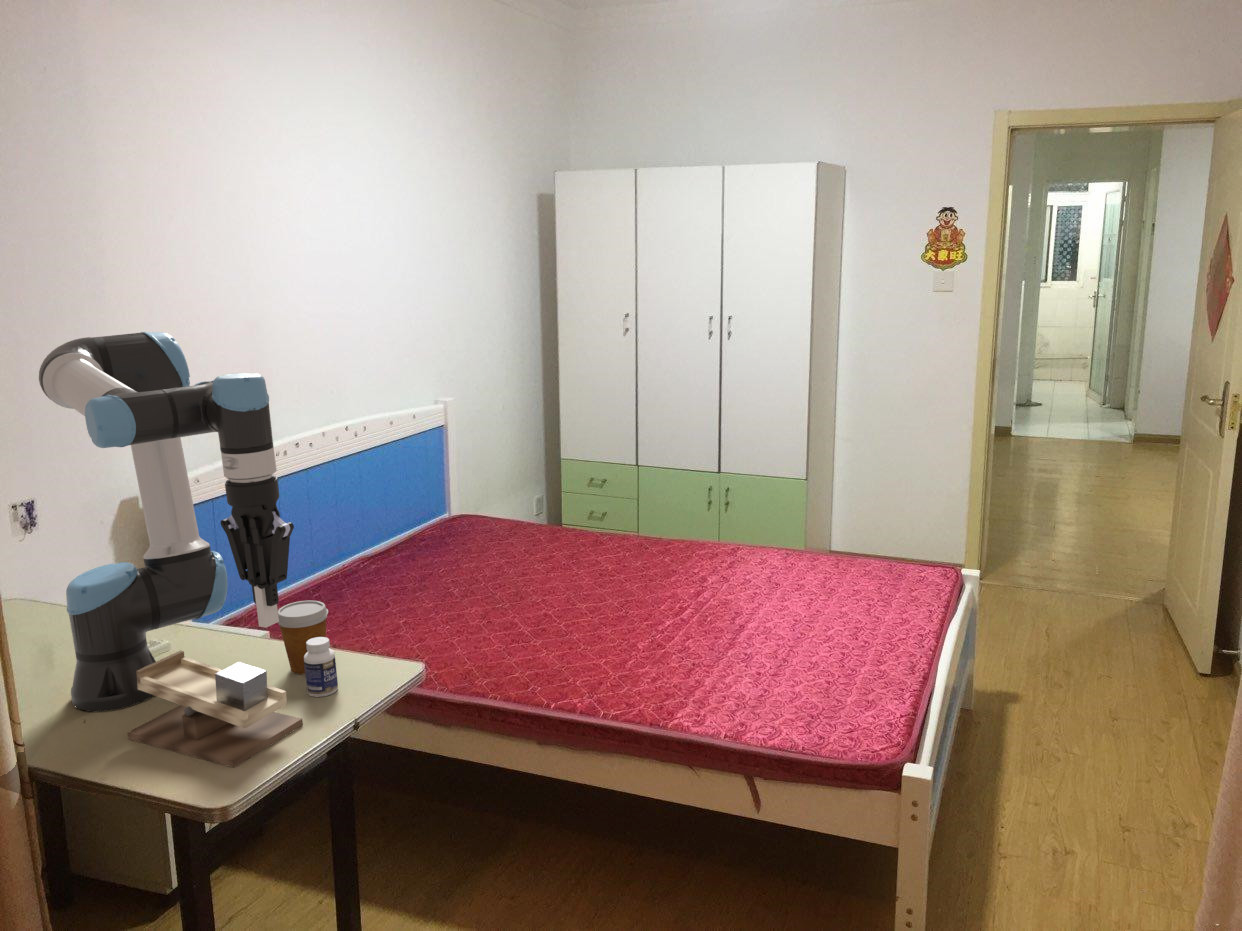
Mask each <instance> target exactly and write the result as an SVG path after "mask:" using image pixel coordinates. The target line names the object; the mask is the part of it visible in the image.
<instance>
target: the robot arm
mask: <svg viewBox="0 0 1242 931" xmlns="http://www.w3.org/2000/svg"><path fill="white" fill-rule="evenodd" d="M188 365H189V364H188V362H187V359H186V357H185V354H184V352H183V350H182V348H181V346H180V344H179V343H178V342H177V340H176V339H175V338H174V337H173V336H172V335H170V334H169V333H166V332H163V331H149V332H147V331H141V332H134V333H126V334H125V333H124V334H113V335H106V336H105V335H104V336H102V335H101V336H94V337H93V336H92V337H89V336H88V337H80V338H76V339H73V340H69V341H67V342H65V343H63V344H61V345H59V346H57V347H56V348H55V349H52V351H51V352H49V353H48V354H47V355H46V357H45V358H44V360H43V361H42V363H41V365H40V368H39V370H38V382H39V386H40V387H41V390H42V392H43V393H44V394H45V396H46V397H47V398H48V399H49V400H50V401H52V402H53V403H55V404H56V405H57V406H60V407H62V408H66V409H70V410H71V409H72V410H73V409H74V410H75V411H77V412H78V413H79V414H81V415H82V416H83V417H84V418H85V420H84V421H85V425H86V430H87V433H88V435H89V438H90V439H91V442H92V443H93V445H94V446H96V447H97V448H100V449H108V448H125V447H128V446H130V448H131V454H132V459H133V464H134V469H135V474H136V479H137V484H138V491H139V495H140V499H141V500H140V501H141V505H142V510H143V516H144V521H145V526H146V531H147V537H148V542H149V547H148V549H147V550H146V552H145V553H144V555H143V556H142V557H143V562H144V567H140V568H137V567H136V566H135V564H133V563H131V562H125V561H122V562H117V563H109V564H104V565H101V566H98V567H97V566H96V567H95V568H91V569H88V570H86V571H85V572H83V573H81V574H79V575H77V576H76V577H74V578H73V579H72V580H71V581H70V582H69V583H68V584H67V586H66V590H65V592H66V593H65V596H66V612H67V614H68V616H69V622H70V629H71V634H72V640H73V646H74V648H73V649H74V652H75V659H76V664H75V667H74V668H75V670H74V674H73V679H72V680H73V681H72V686H71V688H70V697H71V702H72V705H74V706H76V707H77V708H79V709H78V710H80V709H83V710H89V711H88V712H92V711H98V712H107V711H115V710H121V709H124V708H128V707H132V706H134V705H138V704H141V703H142V702H146V701H147V700H149V699H151V698H153V697H154V696H155V695H152V694H149V693H146V692H144V691H141V690H138V686H137V673H136V671H137V670H139V669H141V668H144V667H146V666H148V665H150V664H152V663H154V662H157V660H156V659H155V657H154V655H153V654H152V652H151V650H150V649H149V645H148V642H147V632H150V631H154V630H159V629H162V628H165V627H168V626H169V627H170V626H172V625H177V624H180V623H184V622H187V621H192V620H199V619H202V618H204V617H207V616H209V615H212V614H215V613H218V612H219V611H220V610H221V609H222V608H223V606H224V605H225V601H226V599H227V596H228V595H227V594H228V586H229V584H228V574H227V567H226V565H225V564H224V559H223V556H222V554H220V553H219V552H217V551H215V550H211V545H210V543H209V542H208V541H206V540H204V539H203V538H201V536H200V535H199V534H200V532H199V527H198V522H197V517H196V512H195V511H196V510H195V507H194V502H193V497H192V495H193V494H192V492H191V486H190V480H189V476H188V468H187V464H186V458H185V455H184V454H185V453H184V449H183V448H184V447H183V444H182V439H181V438H184V437H190V436H197V435H205V434H209V433H218V434H217V435H218V440H219V442H218V443H219V449H220V454H221V456H220V457H221V461H222V469H223V472H222V473H223V476H224V477H225V478H226V479H227V480H226V481H225V482H224V488H225V496H226V503H227V504H228V505H229V506H231V511H230V512H231V513H230V514H231V515H229V516H228V517H227V518H224V519H221V520H220V526H221V528H222V529H223V531H224V533H225V534H226V536H227V541H228V544H229V547H230V550H231V552H232V556H233V559H234V563H235V566H236V569H237V570H236V571H237V573H238V576H239V579H241V580H242V581H247V582H248V583H249V585H250V586H251V592H252V599H253V602H254V604H255V605H256V613H257V614H256V615H257V622H258V627H259V628H260V627H261V628H268V627H271V626H272V625H275V624H278V622H279V618H278V610H279V609H278V604H279V601H280V600H279V599H280V598H279V593H278V583H280V582H283V581H285V580H287V579H288V568H289V554H290V541H291V535H292V533H293V530H294V529H295V525H294V524H293V522H287V523H286V522H285V521H284V520H283V518H281V513H280V510H279V509H278V507H277V502H278V500H279V498H280V488H279V480H278V476H277V475H275V474H276V472H278V470H277V465H276V462H277V461H276V455H275V454H276V453H275V448H274V447H275V446H274V440H273V431H272V421H271V413H270V412H271V411H270V396H269V393H268V388H267V384H266V379H265V377H264V376H263V375H261V374H260V373H255V372H253V373H251V372H240V373H239V372H237V373H231V374H230V373H229V374H228V373H227V374H223V375H219V376H216V377H215V378H214V379H213V380H210V381H209V380H208V381H207V380H205V381H199V382H197V383H195V384H194V385H193V384H192V385H191V381H190V377H191V375H190V371H189V366H188ZM74 706H73V707H74ZM77 708H76V709H77ZM83 710H82V711H83Z"/></svg>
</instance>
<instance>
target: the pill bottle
mask: <svg viewBox="0 0 1242 931" xmlns="http://www.w3.org/2000/svg"><path fill="white" fill-rule="evenodd" d="M330 643H331V642H330V638H328V637H327V636H326V637H316V638H312V639H309V640H308V641H307V642H306V647H307V651H308V652H307V653H306V654H305V655H304V666H305V674H304V676H305V683H306V692H307V694H308V695H309V696H310V697H315V698H320V697H321V698H322V697H327V696H330V695H333V694H335V693H336V692H337V691H338V689H339V684H338V682H339V681H338V673H337V672H338V671H337V664H336V663H337V661H336V654H335V651H334V650H333V649H331V648H330V647H331V644H330Z"/></svg>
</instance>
